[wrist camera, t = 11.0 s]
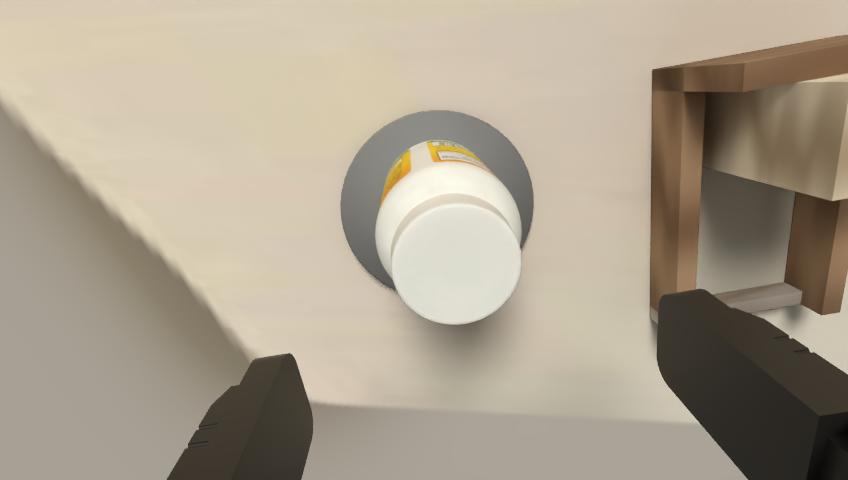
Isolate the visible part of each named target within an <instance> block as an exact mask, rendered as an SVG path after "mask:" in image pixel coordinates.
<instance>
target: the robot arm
mask: <svg viewBox="0 0 848 480" xmlns="http://www.w3.org/2000/svg"><path fill="white" fill-rule="evenodd" d="M657 362H658V366H659V370H660V372H661V375H662V377H663V379H664V381H665V382H666V384H667V385H668V386H669V388H670V389H671V390H672V391H673V392H674V393H675V395H676V396H677V397H678V398H679V399H680V400H681V402H682V403H683V404H684V405H685V406H686V407H687V409H688V410H689V411H690V412H691V413H692V414H693V416H694V417H695V418H696V419H697V420H698V421H699V423H700V424H701V425H702V426H703V427H704V428H705V430H706V431H707V432H708V433H709V434H710V435H711V436H712V438H713V439H714V440H715V441H716V442H717V444H718V445H719V446H720V447H721V448H722V450H723V451H724V452H725V453H726V454H727V455H728V456H729V458H730V459H731V460H732V461H733V462H734V464H735V465H736V466H737V467H738V468H739V469H740V471H741V472H742V473H743V474H744V475H745V476H746V478H747V479H748V480H848V375H847V374H846V373H844V372H843V371H841V370H840V369H838V368H837V367H835V366H834V365H832V364H831V363H829V362H828V361H826V360H825V359H823V358H822V357H820V356H819V355H817V354H816V353H814V352H813V353H810V351H809V349H808V348H807V347H805V346H804V345H802V344H801V343H799V342H798V341H796V340H795V339H790V338H789V336H788V335H787V334H786V333H784V332H783V331H781V330H780V329H778V328H777V327H775V326H774V325H772V324H771V323H769V322H768V321H766V320H765V319H763V318H760V317H757V316H755V315H752V314H750V313H747V312H745V311H742V310H739V309H737V308H730V307H729V306H728V305H726V304H725V303H723V302H722V301H720V300H719V299H718V298H716V297H715V296H713V295H712V294H710V293H709V292H708V291H706V290H703V289H695V290H689V291H683V292H677V293H670V294H665V295H663V296H662V297H661V298H660V301H659V308H658V334H657ZM312 435H313V417H312V411H311V407H310V404H309V401H308V398H307V394H306V391H305V388H304V385H303V382H302V379H301V376H300V372H299V369H298V366H297V363H296V360H295V358H294V357H293V355H292V354H290V353H288V354H282V355H275V356H269V357H263V358H257V359H254V360H253V361H252V363H251V364H250V366H249V368H248V370H247V372H246V374H245V375H244V377H243V379H242V381H241V383H240V385H237V386H231V387H230V388H229V389H228V390H227V391H226V392H225V393H224V394H223V395H222V396H221V397H220V398H218V399H217V400H216V401H215V402H214V403H213V404H212V405H211V407H210V408H209V410H208V412H207V413H206V415H205V417H204V418H203V420H202V422H201V423H200V425H199V430H196V432H195V433H194V435H193V437H192V438H191V440H190V442H189V443H188V448H187V449H185V450H184V452H183V454H182V455H181V457H180V458H179V460H178V462H177V463H176V465H175V467H174V468H173V470H172V472H171V473H170V475H169V477H168V478H167V480H301V478H302V474H303V471H304V467H305V463H306V459H307V455H308V452H309V447H310V444H311V440H312Z"/></svg>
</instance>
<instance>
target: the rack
mask: <svg viewBox="0 0 848 480" xmlns="http://www.w3.org/2000/svg"><path fill="white" fill-rule="evenodd" d="M702 167H705V168H709V169H713V170H716V171H720V172H724V173H728V174H732V175H735V176H739V177H743V178H747V179H751V180H754V181H758V182H762V183H766V184H769V185H773V186H777V187H781V188H785V189H788V190H792V191H796V197H795V205H794V213H793V221H792V229H791V236H790V244H789V252H788V260H787V267H786V275H785V282H784V283H778V284H772V285H767V286H761V287H755V288H750V289H744V290H738V291H732V292H727V293H721V294H715V295H713V296H715V297H716V298H718V299H719V300H720V301H722V302H723V303H725V304H726V305H728V306H729V307H730V308H737V309H739V310H742V311H745V312H747V313H751V312H757V311H763V310H768V309H774V308H780V307H786V306H791V305H797V304H802V305H804V306H805V307H807V308H809V309H811V310H813V311H815V312H816V313H818V314H820V315H826V314H832V313H838V312H840V309H841V304H842V298H843V293H844V287H845V282H846V276H847V271H848V35H843V36H835V37H830V38H824V39H819V40H813V41H808V42H802V43H797V44H791V45H786V46H780V47H775V48H769V49H764V50H758V51H753V52H747V53H742V54H736V55H731V56H725V57H720V58H714V59H709V60H703V61H697V62H692V63H686V64H681V65H675V66H670V67H664V68H659V69H653V85H652V181H651V277H650V318H651V319H652V320H653V321H654V322H655V323H657V324H658V308H659V301H660V298H661V297H662V296H663V295H665V294H670V293H677V292H683V291H689V290H695V289H696V274H697V254H698V234H699V215H700V195H701V175H702Z"/></svg>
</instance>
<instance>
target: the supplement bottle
mask: <svg viewBox="0 0 848 480" xmlns="http://www.w3.org/2000/svg"><path fill="white" fill-rule="evenodd" d="M521 234H522V228H521V219H520V214H519V211H518V208H517V205H516V203H515V201H514V199H513V197H512V195H511V194H510V192H509V191H508V189H507V188H506V187H505V186H504V184H503V183H502V182H501V181H500V180H499V179H498V178H497V177H496V176H495V175H494V174H493V173H492V172H491V171H490V170H489V169H488V168H487V167H486V165H485V164H484V163H483V162H482V161H481V160H480V159H479V158H478V157H477V156H476V155H475V154H474V153H473V152H471V151H470V150H469V149H467V148H465V147H464V146H462V145H460V144H457V143H454V142H451V141H445V140H431V141H425V142H422V143H419V144H417V145H415V146H412V147H411V148H409V149H408V150H406V151H405V152H404V153H403V154H401V155H400V156H399V157H398V159H397V160H396V161H395V162H394V164H393V165H392V167H391V169H390V171H389V173H388V175H387V178H386V182H385V186H384V190H383V194H382V199H381V203H380V207H379V212H378V216H377V220H376V229H375V239H376V247H377V252H378V255H379V258H380V261H381V263H382V265H383V267H384V269H385V270H386V272H387V273H388V275H389V276H390V277H391V278H392V280H393V282H394V285H395V288H396V290H397V292H398V294H399V295H400V297H401V298H402V300H403V301H404V303H405V304H406V305H407V306H408V307H409V308H411V309H412V310H413V311H414V312H415V313H417V314H418V315H420V316H421V317H423V318H425V319H428V320H430V321H433V322H437V323H441V324H448V325H460V324H467V323H471V322H475V321H478V320H481V319H483V318H485V317H487V316H489V315H491V314H492V313H494V312H495V311H496V310H498V309H499V308H500V307H501V306H502V305H503V304H504V303H505V302H506V301H507V300H508V298H509V297H510V296H511V295H512V293H513V292H514V290H515V288H516V286H517V283H518V281H519V278H520V273H521V266H522V256H521V250H520V243H521Z"/></svg>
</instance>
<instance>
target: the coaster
mask: <svg viewBox="0 0 848 480" xmlns="http://www.w3.org/2000/svg"><path fill="white" fill-rule="evenodd" d="M431 140H445V141H451V142H454V143H457V144H460V145H462V146H464V147H465V148H467V149H469V150H470V151H471V152H473V153H474V154H475V155H476V156H477V157H478V158H479V159H480V160H481V161H482V162H483V163H484V164H485V165H486V167H487V168H488V169H489V170H490V171H491V172H492V173H493V174H494V175H495V176H496V177H497V178H498V179H499V180H500V181H501V182H502V183H503V184H504V186H505V187H506V188H507V189H508V191H509V192H510V194H511V195H512V197H513V199H514V201H515V203H516V205H517V208H518V211H519V214H520V219H521V228H522V234H521V243H520V249H521V247H522V246H523V244H524V242H525V240H526V237H527V234H528V232H529V229H530V225H531V221H532V215H533V189H532V183H531V179H530V176H529V173H528V170H527V167H526V165H525V163H524V161H523V159H522V157H521V156H520V154H519V153H518V151H517V149H516V148H515V147H514V146H513V144H512V143H511V142H510V141H509V140H508V139H507V138H506V137H505V136H504V135H503V134H502V133H500V132H499V131H498V130H497V129H495V128H494V127H492V126H491V125H489V124H488V123H486V122H484V121H482V120H480V119H477V118H475V117H473V116H470V115H466V114H463V113H460V112H454V111H448V110H431V111H422V112H417V113H414V114H410V115H407V116H404V117H402V118H399V119H397V120H395V121H393V122H391V123H389V124H388V125H386V126H384V127H383V128H382V129H380V130H379V131H378V132H376V133H375V134H374V135H373V136H372V137H371V138H370V139H369V140H368V141H367V142H366V143H365V144H364V145H363V147H362V148H361V149H360V151H359V152H358V153H357V155H356V156H355V158H354V160H353V162H352V163H351V165H350V167H349V169H348V172H347V175H346V177H345V180H344V184H343V189H342V195H341V218H342V224H343V229H344V232H345V235H346V238H347V241H348V243H349V245H350V247H351V249H352V251H353V253H354V254H355V256H356V257H357V259H358V260H359V262H360V263H361V264H362V265H363V266H364V267H365V269H366V270H367V271H369V272H370V273H371V274H372V275H373V276H374V277H375V278H377V279H378V280H380V281H381V282H382V283H384V284H386V285H387V286H389V287H391V288H393V289H395V290H396V288H395V285H394V282H393V280H392V278H391V277H390V276H389V275H388V273H387V272H386V270H385V269H384V267H383V265H382V263H381V261H380V258H379V255H378V252H377V247H376V239H375V229H376V220H377V216H378V212H379V207H380V203H381V199H382V194H383V190H384V186H385V182H386V178H387V175H388V173H389V171H390V169H391V167H392V165H393V164H394V162H395V161H396V160H397V159H398V157H399V156H400V155H401V154H403V153H404V152H405V151H406V150H408V149H409V148H411V147H412V146H415V145H417V144H419V143H422V142H425V141H431Z"/></svg>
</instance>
